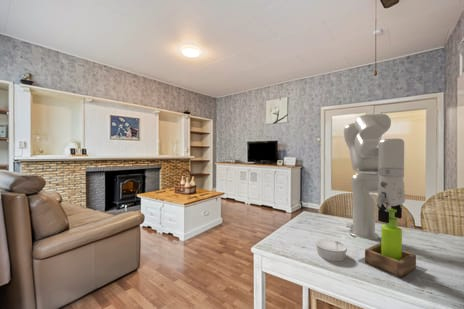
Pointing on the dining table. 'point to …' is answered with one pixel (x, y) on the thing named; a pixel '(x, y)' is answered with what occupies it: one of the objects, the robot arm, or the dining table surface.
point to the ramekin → (331, 249)
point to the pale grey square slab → (407, 278)
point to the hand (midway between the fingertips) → (390, 219)
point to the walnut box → (390, 261)
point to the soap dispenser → (391, 238)
